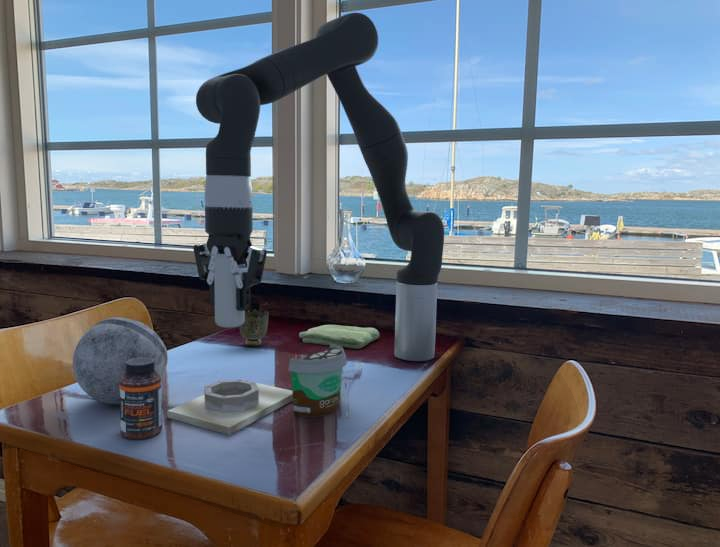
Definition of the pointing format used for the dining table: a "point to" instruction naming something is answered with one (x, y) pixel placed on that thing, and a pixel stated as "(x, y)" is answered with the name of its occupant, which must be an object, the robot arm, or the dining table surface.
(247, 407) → the holder board
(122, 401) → the supplement bottle
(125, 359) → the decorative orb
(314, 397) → the food container
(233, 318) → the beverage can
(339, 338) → the washcloth
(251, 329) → the cup
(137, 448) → the dining table surface
